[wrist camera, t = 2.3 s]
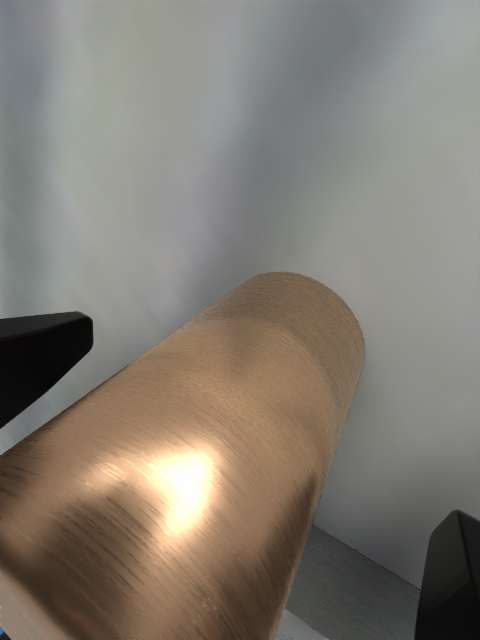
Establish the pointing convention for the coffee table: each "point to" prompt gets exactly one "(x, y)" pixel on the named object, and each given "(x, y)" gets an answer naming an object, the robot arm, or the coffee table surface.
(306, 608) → the grey socket plate
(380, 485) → the coffee table surface
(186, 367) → the copper tin
